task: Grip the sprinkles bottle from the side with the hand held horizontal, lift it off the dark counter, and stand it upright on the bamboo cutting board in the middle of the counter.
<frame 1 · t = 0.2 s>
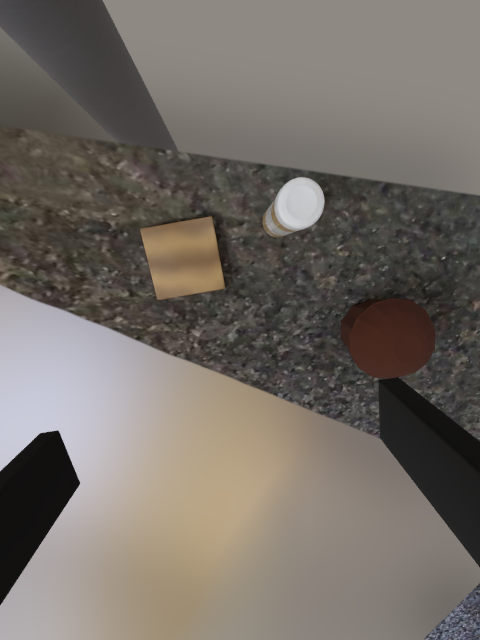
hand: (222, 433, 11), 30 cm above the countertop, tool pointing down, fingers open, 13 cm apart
sprinkles bottle: (277, 221, 38), on the countertop
cutting board: (185, 259, 38), on the countertop
muffin: (366, 326, 42), on the countertop
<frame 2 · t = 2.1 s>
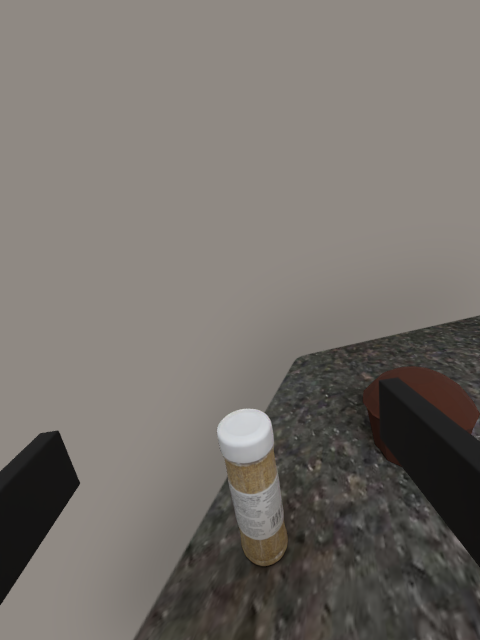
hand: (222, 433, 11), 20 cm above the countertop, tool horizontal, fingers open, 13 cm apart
sprinkles bottle: (264, 542, 25), on the countertop
muffin: (413, 447, 33), on the countertop
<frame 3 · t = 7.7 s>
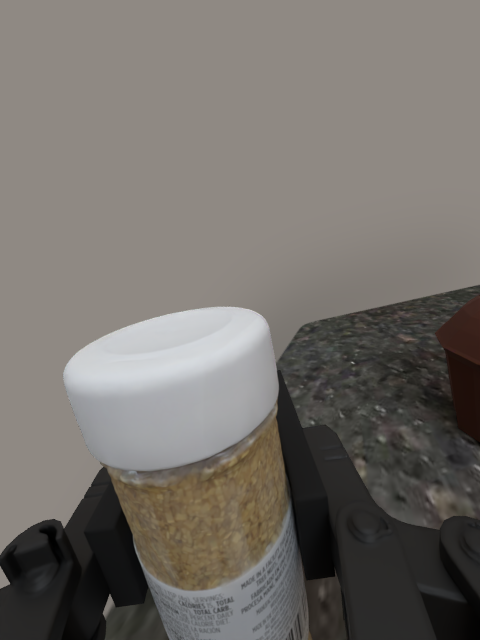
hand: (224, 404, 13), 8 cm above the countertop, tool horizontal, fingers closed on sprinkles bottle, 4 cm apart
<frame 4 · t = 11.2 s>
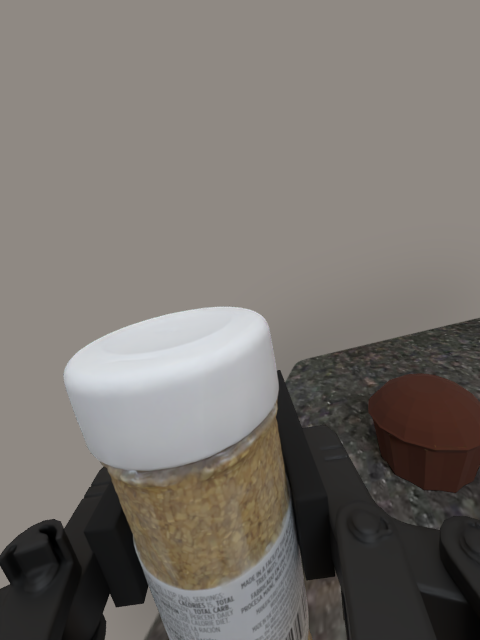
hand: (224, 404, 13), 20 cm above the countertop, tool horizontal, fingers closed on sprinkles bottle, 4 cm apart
muffin: (423, 460, 31), on the countertop
when the fingers open (9 cm above the countertop, at t = 14.8 s): sprinkles bottle stays where it is, resting on cutting board.
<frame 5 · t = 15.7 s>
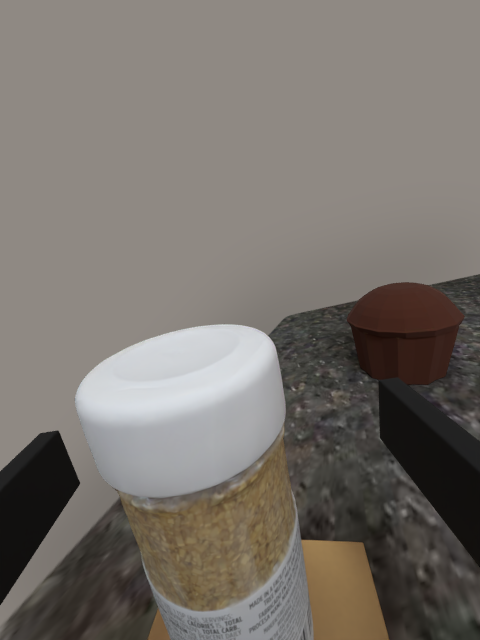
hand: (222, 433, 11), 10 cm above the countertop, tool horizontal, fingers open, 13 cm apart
muffin: (400, 368, 32), on the countertop
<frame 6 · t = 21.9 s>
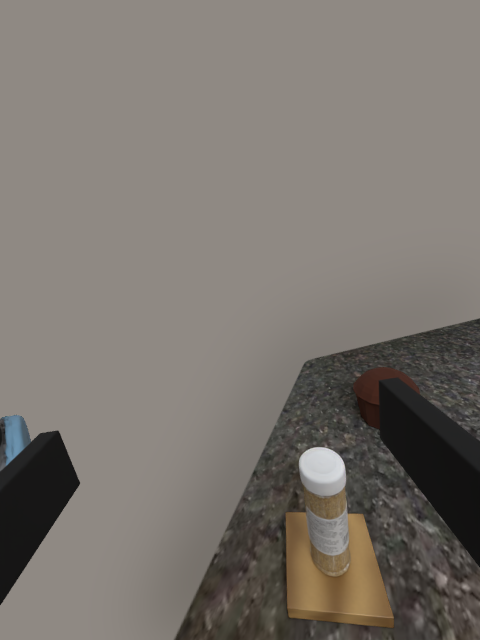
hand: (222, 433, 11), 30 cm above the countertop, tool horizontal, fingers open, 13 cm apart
sprinkles bottle: (330, 556, 30), point 1 cm above the countertop, touching cutting board
cutting board: (330, 564, 31), on the countertop
muffin: (385, 418, 53), on the countertop
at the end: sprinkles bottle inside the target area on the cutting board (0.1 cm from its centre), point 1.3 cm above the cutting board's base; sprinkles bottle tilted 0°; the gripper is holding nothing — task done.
